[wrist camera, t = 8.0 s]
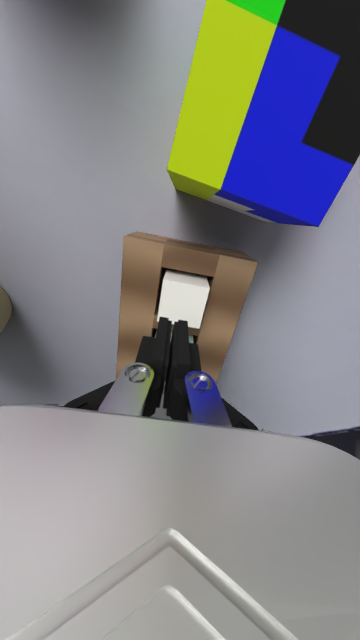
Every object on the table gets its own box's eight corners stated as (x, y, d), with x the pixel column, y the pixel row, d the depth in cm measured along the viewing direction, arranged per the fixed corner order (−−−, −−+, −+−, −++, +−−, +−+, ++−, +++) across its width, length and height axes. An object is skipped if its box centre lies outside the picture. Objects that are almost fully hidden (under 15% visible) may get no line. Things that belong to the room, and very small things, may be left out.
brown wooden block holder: (137, 231, 23) (123, 236, 18) (243, 252, 23) (258, 262, 18) (125, 380, 33) (114, 410, 28) (199, 392, 33) (202, 423, 28)
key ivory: (167, 266, 22) (163, 279, 17) (205, 273, 22) (209, 288, 17) (162, 301, 24) (156, 321, 19) (197, 307, 24) (199, 328, 19)
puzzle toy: (265, 222, 22) (318, 226, 13) (175, 188, 21) (166, 169, 12) (321, 98, 18) (459, -22, 9) (211, 48, 17) (241, -149, 8)
